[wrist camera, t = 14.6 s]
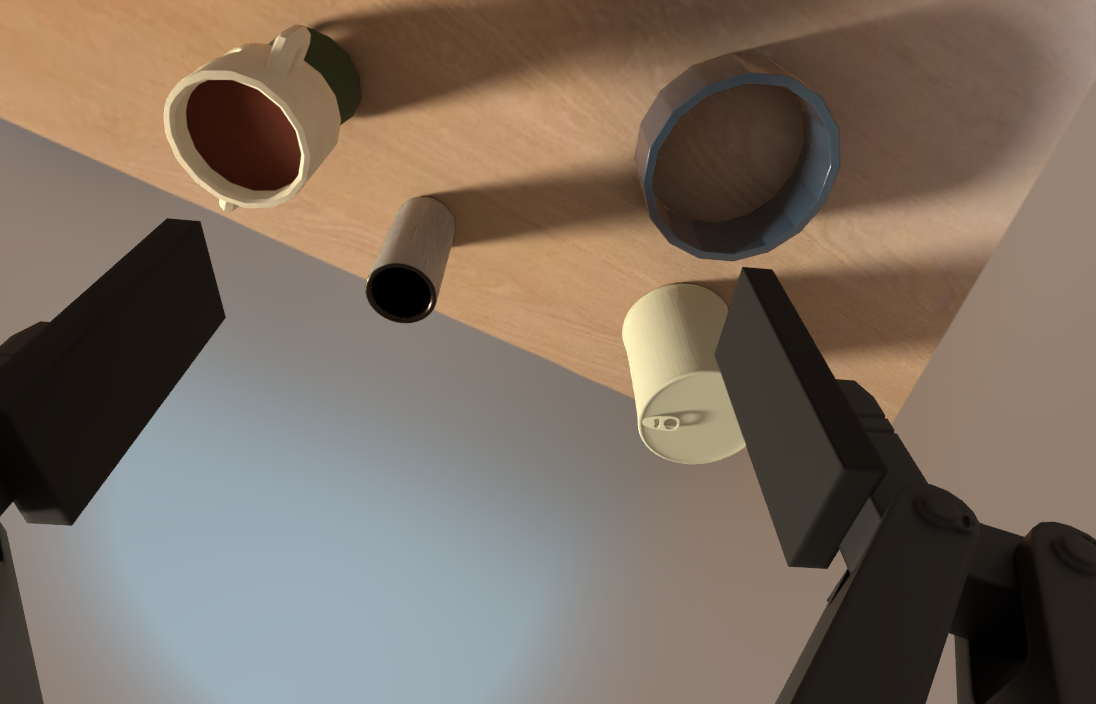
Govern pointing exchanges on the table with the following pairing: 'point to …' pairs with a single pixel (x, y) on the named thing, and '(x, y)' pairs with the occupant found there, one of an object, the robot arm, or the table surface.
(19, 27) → the table surface
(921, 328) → the table surface
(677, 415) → the can
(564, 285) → the table surface
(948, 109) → the table surface
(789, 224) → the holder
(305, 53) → the character mug
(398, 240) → the planter
